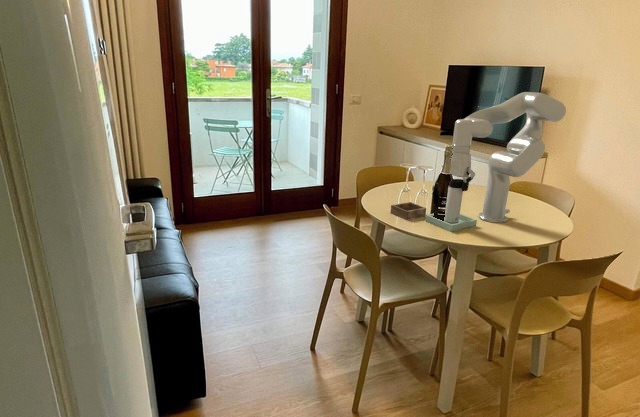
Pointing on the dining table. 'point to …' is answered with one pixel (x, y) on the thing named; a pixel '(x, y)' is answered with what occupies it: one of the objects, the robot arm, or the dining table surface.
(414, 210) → the brown wooden open box
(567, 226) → the dining table surface
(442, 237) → the dining table surface
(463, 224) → the tray
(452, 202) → the travel mug
